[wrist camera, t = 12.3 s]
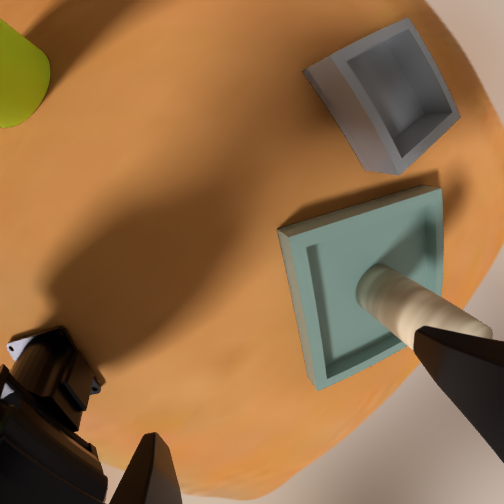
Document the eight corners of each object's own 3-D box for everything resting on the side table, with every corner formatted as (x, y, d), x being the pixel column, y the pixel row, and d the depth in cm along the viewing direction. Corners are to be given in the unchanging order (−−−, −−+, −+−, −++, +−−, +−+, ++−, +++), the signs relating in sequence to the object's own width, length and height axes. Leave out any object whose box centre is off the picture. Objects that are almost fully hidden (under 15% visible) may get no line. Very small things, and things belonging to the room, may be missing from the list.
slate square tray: (364, 170, 21) (399, 175, 17) (301, 71, 18) (329, 55, 14) (426, 118, 21) (460, 117, 18) (377, 30, 18) (408, 17, 14)
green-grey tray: (307, 376, 26) (317, 391, 24) (276, 229, 21) (288, 237, 19) (424, 317, 28) (438, 326, 26) (423, 184, 23) (441, 188, 21)
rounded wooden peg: (349, 308, 23) (440, 390, 13) (364, 261, 22) (472, 328, 12) (384, 309, 25) (472, 380, 15) (399, 267, 24) (499, 325, 14)
